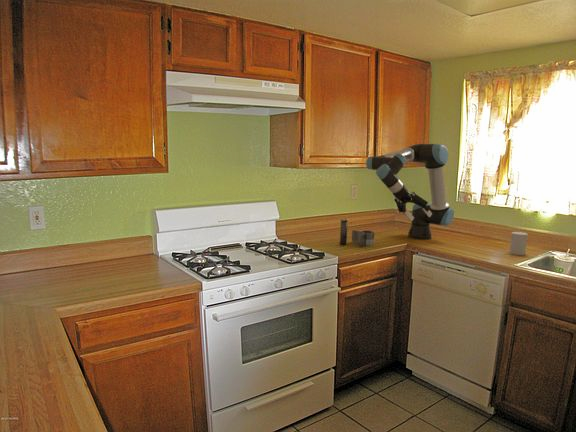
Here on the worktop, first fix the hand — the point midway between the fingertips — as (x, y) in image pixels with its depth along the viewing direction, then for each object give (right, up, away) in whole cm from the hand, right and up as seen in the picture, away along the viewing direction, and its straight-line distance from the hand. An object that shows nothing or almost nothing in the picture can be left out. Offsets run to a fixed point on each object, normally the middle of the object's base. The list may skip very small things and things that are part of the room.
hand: (421, 217), depth 231 cm
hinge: (-29, -17, +26) cm, 43 cm away
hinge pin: (-40, -17, +25) cm, 50 cm away
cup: (+60, -21, +14) cm, 65 cm away
